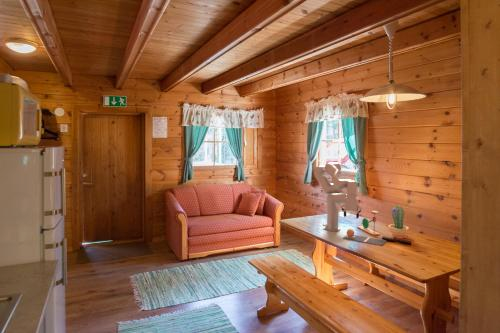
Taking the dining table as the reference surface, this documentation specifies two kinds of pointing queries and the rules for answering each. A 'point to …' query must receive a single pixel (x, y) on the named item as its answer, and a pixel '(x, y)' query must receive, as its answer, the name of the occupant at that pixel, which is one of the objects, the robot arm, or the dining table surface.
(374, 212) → the crank mechanism
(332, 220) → the robot arm
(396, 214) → the potted cactus
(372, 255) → the dining table surface
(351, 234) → the ball
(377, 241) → the mat
